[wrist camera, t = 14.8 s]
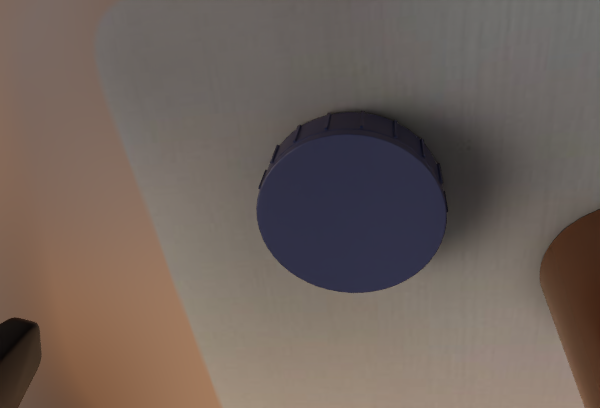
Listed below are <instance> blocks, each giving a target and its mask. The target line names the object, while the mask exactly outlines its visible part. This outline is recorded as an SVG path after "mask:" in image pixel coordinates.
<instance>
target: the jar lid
mask: <svg viewBox="0 0 600 408" xmlns="http://www.w3.org/2000/svg"><path fill="white" fill-rule="evenodd" d="M364 112H365V111H361V113H356V112H346V113H336V114H331V113H328V114H327V115H326V116H323V117H320V118H317V119H314V120H312V121H310V122H308V123H306V124H304V125H302V126H301V125H299V126H298V127H297V129H296V130H295V131H293V132H292V133H291V134H290V135H289V136H288V137H287V138H286V139H285V140H284V141H283V142H282V143H281V145H280V146H279V145H277V146H276V149H275V151H274V154H273V156H272V159H271V161H270V164H269V167H268V169H267V170H265V172H264V175H263V178H262V180H261V183H260V185H259V188H258V189H260V191H259V195H258V199H257V221H258V225H259V229H260V232H261V235H262V238H263V240H264V242H265V244H266V246H267V247H268V249H269V250H270V252H271V253H272V255H273V256H274V257H275V258H276V259H277V260H278V261H279V263H280V264H281V265H283V266H284V267H285V268H286V269H287V270H288V271H290V272H291V273H293V274H294V275H296V276H297V277H299V278H300V279H302V280H304V281H306V282H308V283H311V284H313V285H315V286H318V287H321V288H325V289H328V290H333V291H338V292H348V293H364V292H372V291H377V290H382V289H386V288H389V287H392V286H395V285H397V284H399V283H401V282H403V281H406V280H407V279H409V278H410V277H412V276H414V275H415V274H416V273H418V272H419V271H420V270H421V269H423V268H424V267H425V265H426V264H427V263H428V262H429V261H430V260H431V259H432V257H433V256H434V255H435V253H436V252H437V250H438V248H439V246H440V244H441V242H442V239H443V236H444V233H445V229H446V223H447V212H448V207H447V201H446V195H445V191H443V186H442V183H443V180H442V174H441V168H440V164H439V163H438V164H437V163H436V161H435V159H434V157H433V155H432V154H431V152H430V151H429V149H428V148H427V146H426V145H425V144H424V140H423V139H422V138H421V139H419V138H418V137H417V136H416V135H415V134H413V133H412V132H411V131H410V130H408V129H407V128H405V127H403V126H402V125H400V124H398V123H397V120H394V121H392V120H389V119H387V118H384V117H380V116H377V115H373V114H367V113H364Z"/></svg>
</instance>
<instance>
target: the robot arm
mask: <svg viewBox="0 0 600 408" xmlns="http://www.w3.org/2000/svg"><path fill="white" fill-rule="evenodd" d="M40 361H41V343H40V330H39V326H38V324H37V323H35V322H32V321H29V320H25V319H21V318H11V319H8V320H6V321H5V322H3V323H1V324H0V408H18V407H19V405H20V403H21V401H22V399H23V397H24V395H25V393H26V391H27V389H28V387H29V385H30V383H31V381H32V379H33V377H34V375H35V373H36V371H37V369H38V367H39V364H40Z"/></svg>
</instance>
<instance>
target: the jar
mask: <svg viewBox="0 0 600 408" xmlns="http://www.w3.org/2000/svg"><path fill="white" fill-rule="evenodd" d="M540 284H541V288H542V291H543V294H544V296H545V299H546V302H547V305H548V307H549V310H550V313H551V316H552V318H553V321H554V324H555V327H556V329H557V332H558V335H559V338H560V341H561V343H562V346H563V349H564V352H565V354H566V357H567V360H568V363H569V365H570V368H571V371H572V374H573V376H574V379H575V382H576V385H577V387H578V390H579V393H580V396H581V399H582V401H583V404H584V407H585V408H600V210H597V211H595V212H592V213H590V214H588V215H586V216H584V217H582V218H580V219H578V220H577V221H575V222H574V223H572V224H571V225H569V226H568V227H567V228H566V229H565V230H563V231H562V232H561V233H560V234H559V235H558V236H557V237H556V238H555V239H554V241H553V242H552V243H551V245H550V246H549V248H548V249H547V251H546V253H545V255H544V258H543V260H542V263H541V268H540Z"/></svg>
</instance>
